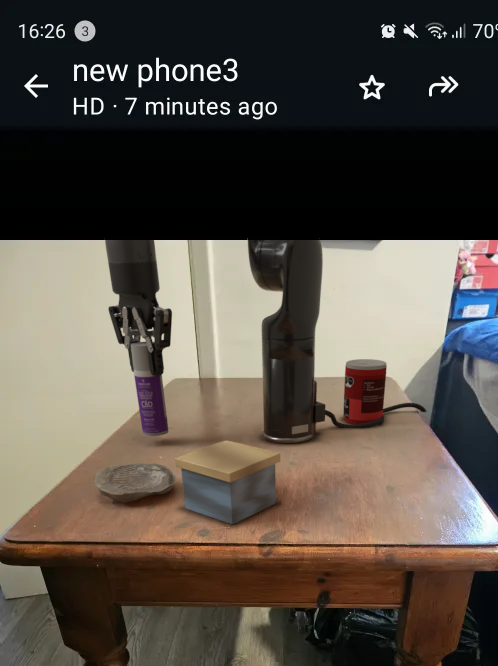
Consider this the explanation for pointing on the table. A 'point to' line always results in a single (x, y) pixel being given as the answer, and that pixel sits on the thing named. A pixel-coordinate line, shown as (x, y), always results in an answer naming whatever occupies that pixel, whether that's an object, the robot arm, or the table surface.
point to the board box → (228, 480)
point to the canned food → (364, 390)
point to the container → (149, 393)
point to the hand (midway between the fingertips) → (147, 372)
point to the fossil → (134, 481)
